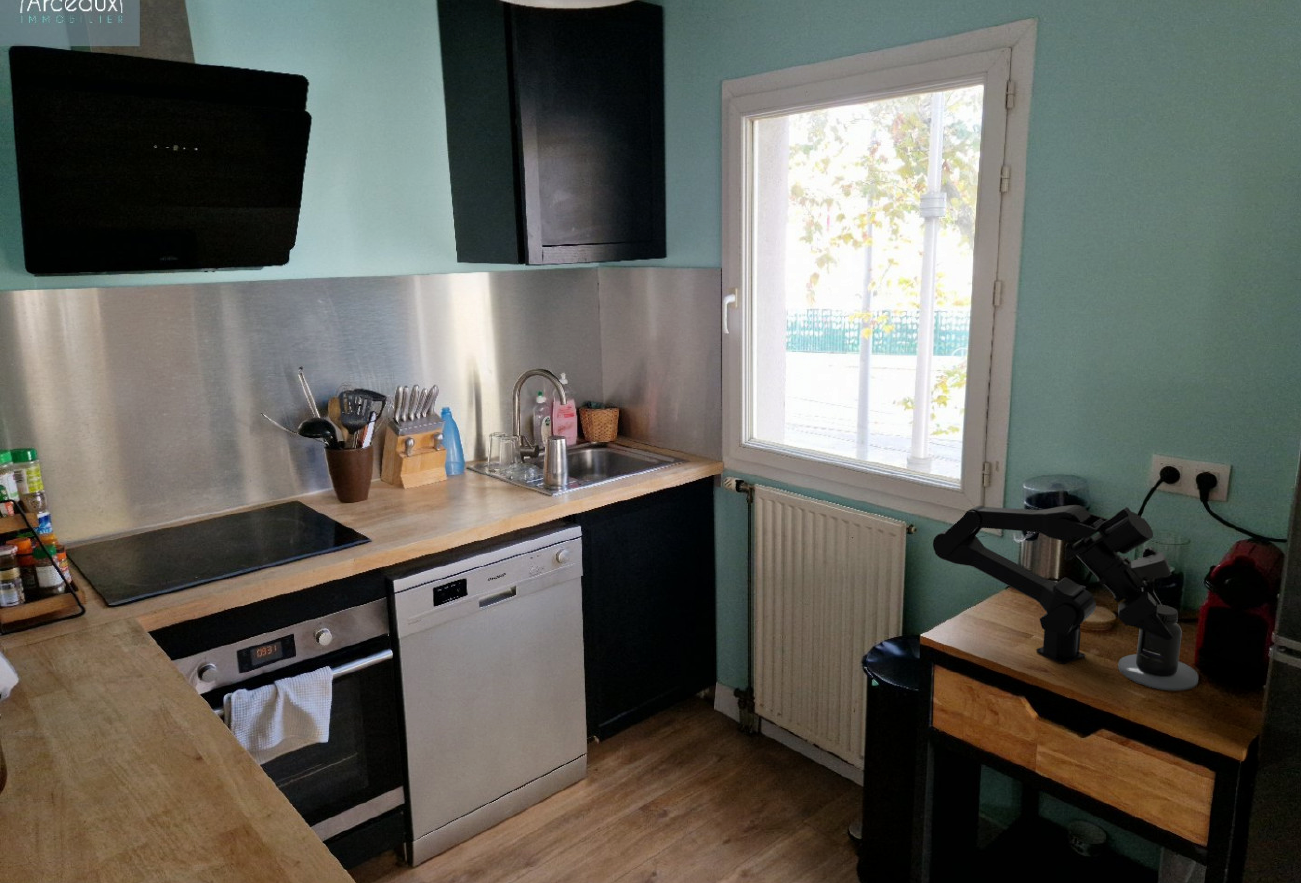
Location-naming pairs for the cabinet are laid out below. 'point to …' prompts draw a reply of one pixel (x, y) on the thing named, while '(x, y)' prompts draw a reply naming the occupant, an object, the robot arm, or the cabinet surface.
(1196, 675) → the disc
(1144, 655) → the supplement bottle
